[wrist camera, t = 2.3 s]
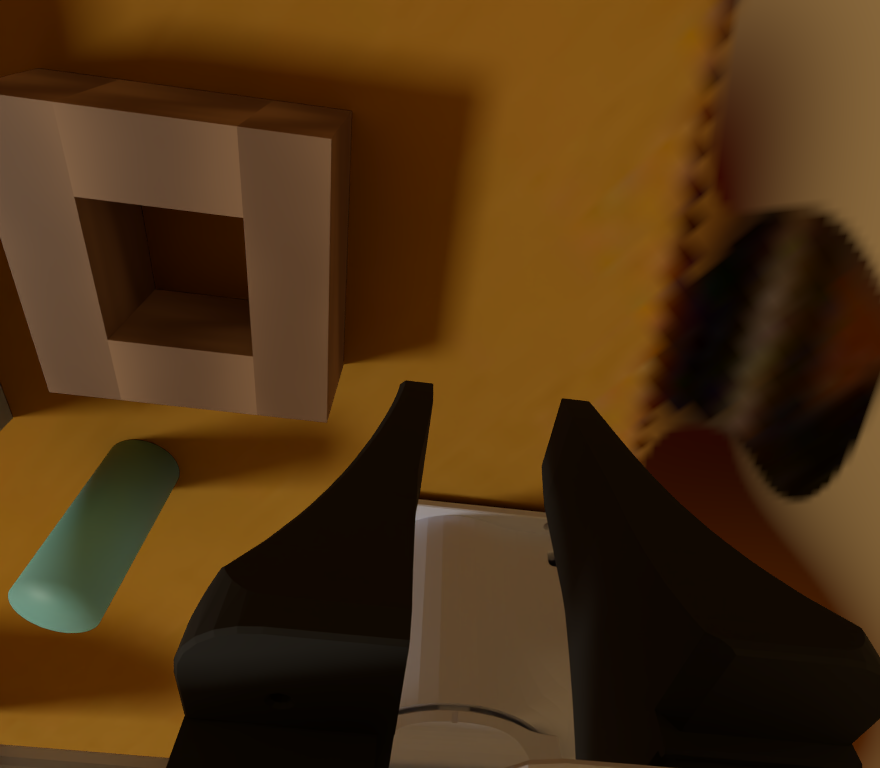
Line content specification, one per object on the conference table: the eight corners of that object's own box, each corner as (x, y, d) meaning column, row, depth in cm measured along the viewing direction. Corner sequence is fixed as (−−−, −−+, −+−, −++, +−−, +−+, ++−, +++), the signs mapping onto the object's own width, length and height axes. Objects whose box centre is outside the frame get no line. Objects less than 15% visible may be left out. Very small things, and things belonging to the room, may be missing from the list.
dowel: (174, 443, 25) (90, 584, 19) (183, 493, 27) (109, 636, 21) (102, 436, 25) (-4, 575, 19) (115, 487, 27) (22, 628, 21)
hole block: (351, 111, 17) (331, 138, 15) (343, 365, 23) (326, 422, 20) (38, 68, 17) (-47, 88, 14) (101, 337, 22) (49, 392, 19)
